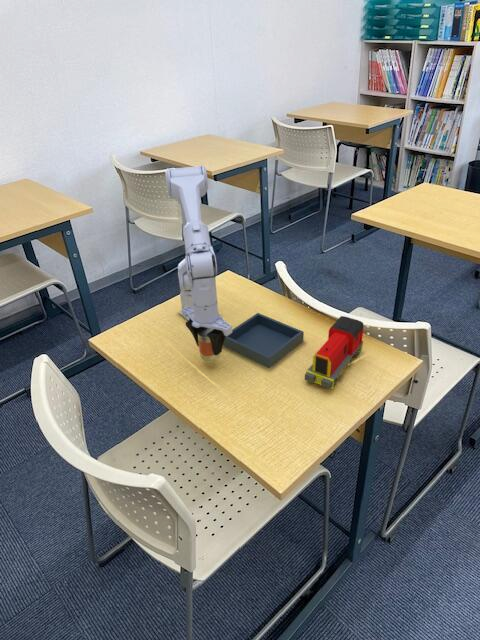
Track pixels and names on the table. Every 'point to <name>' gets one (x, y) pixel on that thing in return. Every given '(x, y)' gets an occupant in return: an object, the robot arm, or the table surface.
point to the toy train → (336, 352)
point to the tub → (263, 339)
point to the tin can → (206, 345)
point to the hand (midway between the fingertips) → (209, 348)
